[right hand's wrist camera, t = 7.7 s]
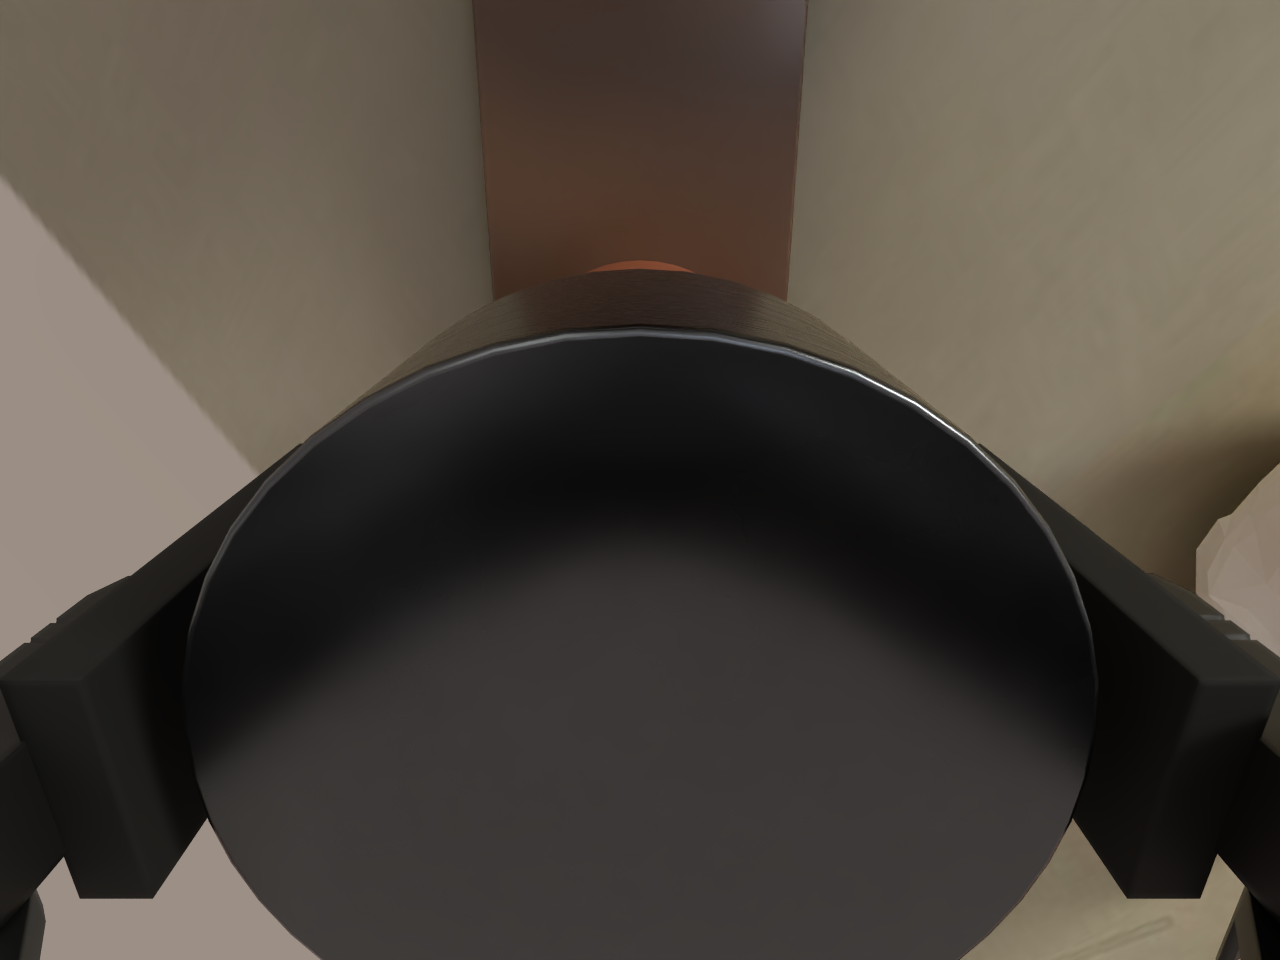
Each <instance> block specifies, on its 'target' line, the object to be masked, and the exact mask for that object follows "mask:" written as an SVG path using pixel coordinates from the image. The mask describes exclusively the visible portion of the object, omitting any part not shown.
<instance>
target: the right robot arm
mask: <svg viewBox="0 0 1280 960" xmlns="http://www.w3.org/2000/svg"><path fill="white" fill-rule="evenodd" d="M301 445H302V444H299V445H297V446H296V447H295V448H294V449H292V450H291V451H290V452H288V453H287V454H286V455H285V456H283V457H282V458H281V459H280V460H278V461H277V462H276V463H274V464H273V465H272V466H271V467H269V468H268V469H267V470H265V471H264V472H263V473H262V474H260V475H259V476H258V477H257V478H255V479H254V480H253V481H252V482H250V483H249V484H248V485H246V486H245V487H244V488H243V489H241V490H240V491H239V492H237V493H236V494H235V495H234V496H232V497H231V498H230V499H229V500H227V501H226V502H225V503H223V504H222V505H221V506H220V507H218V508H217V509H216V510H214V511H213V512H212V513H211V514H209V515H208V516H207V517H206V518H204V519H203V520H202V521H200V522H199V523H198V524H197V525H195V526H194V527H193V528H191V529H190V530H189V531H188V532H186V533H185V534H184V535H182V536H181V537H180V538H179V539H177V540H176V541H175V542H174V543H172V544H171V545H170V546H169V547H167V548H166V549H165V550H163V551H162V552H161V553H160V554H158V555H157V556H156V557H154V558H153V559H152V560H151V561H149V562H148V563H147V564H145V565H144V566H143V567H142V568H140V569H139V570H138V571H137V572H135V573H134V574H133V575H131V576H127V577H125V578H123V579H121V580H119V581H117V582H114V583H112V584H110V585H108V586H106V587H104V588H102V589H100V590H98V591H95V592H94V593H91V594H89V595H87V596H86V597H84V598H83V599H82V600H80V601H79V602H78V603H76V604H75V605H74V606H73V607H71V608H70V609H69V610H67V611H66V612H65V613H63V614H62V615H61V616H59V617H58V618H57V622H56V623H50V624H49V625H47V626H46V627H45V628H43V629H42V630H41V631H39V632H38V633H37V634H36V635H34V636H33V637H32V638H31V642H30V643H24V644H22V645H21V646H20V647H18V648H17V649H16V650H14V651H13V652H12V653H10V654H9V655H8V656H6V657H5V658H4V659H2V660H1V661H0V960H40V954H41V948H42V942H43V935H44V929H45V922H46V921H45V915H44V909H43V904H42V902H41V900H40V897H39V895H38V892H37V890H36V889H37V887H38V886H39V885H40V884H41V883H42V882H43V880H44V879H45V878H46V877H47V876H48V874H49V873H50V872H51V871H52V870H53V869H54V867H55V866H56V865H57V864H58V863H59V862H60V860H61V859H62V858H63V857H64V858H65V860H66V863H67V866H68V869H69V871H70V874H71V876H72V879H73V882H74V884H75V887H76V890H77V892H78V895H79V897H80V899H152V898H153V897H154V896H155V895H156V893H157V891H158V890H159V889H160V887H161V886H162V884H163V883H164V881H165V880H166V878H167V877H168V875H169V874H170V872H171V871H172V869H173V868H174V866H175V865H176V863H177V862H178V860H179V859H180V858H181V856H182V855H183V853H184V852H185V850H186V849H187V847H188V846H189V844H190V843H191V841H192V840H193V838H194V837H195V835H196V834H197V832H198V831H199V829H200V828H201V826H202V825H203V823H204V822H205V821H206V819H207V818H208V817H207V815H206V812H205V809H204V807H203V804H202V801H201V798H200V796H199V793H198V790H197V787H196V785H195V782H194V779H193V776H192V771H191V766H190V761H189V756H188V751H187V746H186V741H185V735H184V730H183V702H182V676H183V669H184V661H185V654H186V647H187V640H188V632H189V627H190V623H191V620H192V617H193V614H194V611H195V608H196V604H197V601H198V598H199V595H200V592H201V589H202V585H203V582H204V579H205V576H206V574H207V572H208V570H209V568H210V566H211V564H212V562H213V560H214V558H215V556H216V555H217V553H218V551H219V549H220V547H221V545H222V543H223V541H224V539H225V537H226V535H227V533H228V531H229V529H230V527H231V526H232V524H233V523H234V522H235V520H236V519H237V518H238V516H239V515H240V514H241V512H242V511H243V510H244V508H245V507H246V506H247V504H248V503H249V502H250V500H251V499H252V498H253V496H254V495H255V494H256V492H257V491H258V490H259V488H260V487H261V485H262V484H263V483H264V481H265V480H266V479H267V478H268V477H269V476H270V475H271V474H272V473H273V472H274V471H275V470H276V469H277V468H278V467H279V466H280V465H281V464H282V463H283V462H284V461H285V460H286V459H288V458H289V457H290V456H291V455H292V454H293V453H294V452H295V451H296V450H297V449H298V448H299V447H300V446H301ZM978 445H979V446H980V447H981V448H982V449H983V450H984V451H985V452H986V453H987V454H989V455H990V456H991V457H992V458H993V459H994V460H995V461H996V462H997V463H998V464H999V465H1000V466H1001V467H1002V468H1003V469H1004V470H1005V471H1006V472H1007V473H1008V474H1009V475H1010V476H1011V477H1012V478H1013V479H1014V480H1015V481H1016V483H1017V484H1018V485H1019V487H1020V488H1021V489H1022V491H1023V492H1024V493H1025V495H1026V496H1027V497H1028V499H1029V500H1030V501H1031V503H1032V504H1033V505H1034V507H1035V508H1036V509H1037V511H1038V512H1039V513H1040V515H1041V516H1042V517H1043V519H1044V520H1045V521H1046V523H1047V524H1048V525H1049V527H1050V529H1051V531H1052V533H1053V535H1054V537H1055V539H1056V541H1057V543H1058V545H1059V546H1060V548H1061V550H1062V552H1063V554H1064V556H1065V558H1066V560H1067V562H1068V564H1069V566H1070V568H1071V570H1072V572H1073V574H1074V575H1075V579H1076V582H1077V585H1078V588H1079V591H1080V594H1081V597H1082V601H1083V604H1084V607H1085V610H1086V613H1087V616H1088V620H1089V623H1090V626H1091V631H1092V638H1093V645H1094V653H1095V660H1096V667H1097V674H1098V709H1097V732H1096V737H1095V742H1094V747H1093V752H1092V757H1091V762H1090V767H1089V772H1088V777H1087V780H1086V783H1085V785H1084V788H1083V791H1082V794H1081V796H1080V799H1079V802H1078V804H1077V807H1076V810H1075V813H1074V815H1073V819H1074V820H1075V822H1076V823H1077V825H1078V826H1079V828H1080V829H1081V831H1082V832H1083V834H1084V835H1085V837H1086V838H1087V840H1088V841H1089V843H1090V844H1091V846H1092V847H1093V849H1094V850H1095V852H1096V853H1097V855H1098V856H1099V858H1100V859H1101V860H1102V862H1103V863H1104V865H1105V866H1106V868H1107V869H1108V871H1109V872H1110V874H1111V875H1112V877H1113V878H1114V880H1115V881H1116V883H1117V884H1118V886H1119V887H1120V889H1121V890H1122V892H1123V893H1124V895H1125V896H1126V897H1127V899H1200V898H1201V895H1202V892H1203V890H1204V887H1205V884H1206V882H1207V879H1208V877H1209V874H1210V871H1211V869H1212V866H1213V863H1214V861H1215V858H1216V855H1217V854H1218V855H1219V856H1220V857H1221V858H1222V860H1223V861H1224V862H1225V863H1226V864H1227V865H1228V867H1229V868H1230V869H1231V870H1232V871H1233V872H1234V874H1235V875H1236V876H1237V877H1238V878H1239V879H1240V881H1241V882H1242V883H1243V884H1244V885H1245V887H1244V890H1243V892H1242V895H1241V897H1240V900H1239V902H1238V904H1237V907H1236V909H1235V912H1234V914H1233V917H1232V919H1231V922H1230V924H1229V927H1228V929H1227V932H1226V934H1225V936H1224V939H1223V941H1222V944H1221V946H1220V949H1219V951H1218V954H1217V956H1216V960H1238V959H1241V960H1280V657H1279V656H1278V655H1276V654H1275V653H1274V652H1272V651H1271V650H1270V649H1268V648H1267V647H1266V646H1264V645H1263V644H1262V643H1260V642H1259V641H1258V640H1251V639H1250V634H1248V633H1247V632H1246V631H1244V630H1243V629H1242V628H1240V627H1239V626H1238V625H1236V624H1235V623H1234V622H1232V621H1231V620H1225V619H1224V615H1223V614H1222V613H1220V612H1219V611H1218V610H1216V609H1215V608H1214V607H1212V606H1211V605H1210V604H1208V603H1207V602H1206V601H1204V600H1203V599H1202V598H1200V597H1199V596H1198V595H1196V594H1195V593H1193V592H1191V591H1189V590H1187V589H1185V588H1183V587H1181V586H1179V585H1176V584H1174V583H1172V582H1170V581H1168V580H1166V579H1164V578H1162V577H1159V576H1157V575H1155V574H1153V573H1145V572H1143V571H1142V570H1141V569H1140V568H1138V567H1137V566H1136V565H1135V564H1133V563H1132V562H1131V561H1129V560H1128V559H1127V558H1126V557H1124V556H1123V555H1122V554H1121V553H1119V552H1118V551H1117V550H1115V549H1114V548H1113V547H1112V546H1110V545H1109V544H1108V543H1106V542H1105V541H1104V540H1103V539H1101V538H1100V537H1099V536H1098V535H1096V534H1095V533H1094V532H1092V531H1091V530H1090V529H1089V528H1087V527H1086V526H1085V525H1083V524H1082V523H1081V522H1080V521H1078V520H1077V519H1076V518H1075V517H1073V516H1072V515H1071V514H1069V513H1068V512H1067V511H1066V510H1064V509H1063V508H1062V507H1060V506H1059V505H1058V504H1057V503H1055V502H1054V501H1053V500H1052V499H1050V498H1049V497H1048V496H1046V495H1045V494H1044V493H1043V492H1041V491H1040V490H1039V489H1038V488H1036V487H1035V486H1034V485H1032V484H1031V483H1030V482H1029V481H1027V480H1026V479H1025V478H1023V477H1022V476H1021V475H1020V474H1018V473H1017V472H1016V471H1015V470H1013V469H1012V468H1011V467H1009V466H1008V465H1007V464H1006V463H1004V462H1003V461H1002V460H1000V459H999V458H998V457H997V456H995V455H994V454H993V453H992V452H990V451H989V450H988V449H986V448H985V447H984V446H983V445H981V444H978Z"/></svg>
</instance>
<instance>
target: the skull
mask: <svg viewBox="0 0 1280 960" xmlns="http://www.w3.org/2000/svg"><path fill="white" fill-rule="evenodd" d="M1196 594H1197V595H1198V596H1199V597H1200V598H1202V599H1203V600H1204V601H1206V602H1207V603H1208V604H1210V605H1211V606H1212V607H1214V608H1215V609H1216V610H1218V611H1219V612H1220V613H1222V614H1223V615H1224V619H1225V620H1231V621H1232V622H1234V623H1235V624H1236V625H1238V626H1239V627H1240V628H1242V629H1243V630H1244V631H1246V632H1247V633H1248V634H1250V639H1251V640H1258V641H1259V642H1260V643H1262V644H1263V645H1264V646H1266V647H1267V648H1268V649H1270V650H1271V651H1272V652H1274V653H1275V654H1276V655H1278V656H1279V657H1280V463H1279V464H1278V465H1277V466H1276V467H1275V468H1274V469H1273V470H1272V471H1271V472H1270V473H1269V474H1268V475H1267V476H1266V477H1264V478H1263V479H1262V480H1261V481H1260V482H1259V483H1258V485H1257V486H1256V487H1255V488H1254V489H1253V490H1252V491H1251V493H1250V494H1249V495H1248V496H1247V497H1246V498H1245V499H1244V500H1243V502H1242V503H1241V504H1240V505H1239V506H1238V507H1237V508H1236V510H1235V511H1234V512H1233V513H1232V514H1231V515H1228V516H1225V517H1223V518H1220V519H1218V520H1217V522H1216V523H1215V524H1214V526H1213V527H1212V528H1211V530H1210V531H1209V533H1208V534H1207V535H1206V537H1205V538H1204V540H1203V541H1202V542H1201V544H1200V545H1199V547H1198V548H1197V549H1196Z"/></svg>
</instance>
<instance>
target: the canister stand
mask: <svg viewBox="0 0 1280 960" xmlns="http://www.w3.org/2000/svg"><path fill="white" fill-rule="evenodd" d="M472 7H473V21H474V35H475V49H476V63H477V77H478V91H479V105H480V120H481V134H482V148H483V162H484V176H485V190H486V204H487V218H488V232H489V246H490V260H491V274H492V289H493V302H495V301H497V300H498V299H500V298H502V297H504V296H507V295H510V294H512V293H515V292H518V291H521V290H524V289H527V288H529V287H532V286H535V285H538V284H541V283H544V282H546V281H550V280H555V279H560V278H565V277H570V276H575V275H579V274H584V273H589V272H595V271H610V270H625V269H639V268H641V269H655V270H670V271H685V272H691V273H696V274H701V275H706V276H711V277H715V278H720V279H725V280H730V281H734V282H737V283H739V284H742V285H745V286H748V287H751V288H754V289H756V290H759V291H762V292H765V293H768V294H771V295H773V296H776V297H778V298H780V299H782V300H784V301H786V302H787V292H788V278H789V264H790V250H791V236H792V222H793V208H794V193H795V179H796V165H797V151H798V137H799V123H800V109H801V95H802V81H803V67H804V52H805V38H806V24H807V10H808V0H472Z"/></svg>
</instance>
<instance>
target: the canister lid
mask: <svg viewBox="0 0 1280 960" xmlns="http://www.w3.org/2000/svg"><path fill="white" fill-rule="evenodd" d="M182 702H183V730H184V735H185V741H186V746H187V751H188V756H189V761H190V766H191V771H192V776H193V779H194V782H195V785H196V787H197V790H198V793H199V796H200V798H201V801H202V804H203V807H204V809H205V812H206V815H207V817H208V820H209V822H210V824H211V826H212V828H213V830H214V832H215V833H216V835H217V837H218V839H219V841H220V843H221V845H222V846H223V848H224V850H225V852H226V854H227V856H228V858H229V859H230V861H231V863H232V864H233V866H234V867H235V868H236V870H237V871H238V873H239V874H240V875H241V877H242V878H243V879H244V881H245V882H246V883H247V885H248V886H249V888H250V889H251V890H252V892H253V893H254V894H255V896H256V897H257V898H258V900H259V901H260V902H261V903H262V904H263V905H264V906H265V907H266V909H267V910H268V911H269V912H270V913H271V914H272V915H273V916H274V917H275V918H276V919H277V920H278V921H279V922H280V923H281V924H282V926H283V927H284V928H285V929H286V930H287V931H288V932H289V933H290V934H291V935H292V936H293V937H295V938H296V939H297V940H298V941H299V942H301V943H302V944H303V945H304V946H305V947H306V948H308V949H309V950H310V951H311V952H312V953H314V954H315V955H316V956H317V957H318V958H320V959H321V960H960V959H961V958H962V957H963V956H964V955H965V954H967V953H968V952H969V951H970V950H971V949H973V948H974V947H975V946H976V945H977V944H979V943H980V942H981V941H982V940H983V939H985V938H986V937H987V936H988V935H989V934H990V933H991V932H992V931H993V930H994V929H995V928H996V927H997V926H998V925H999V924H1000V923H1001V922H1002V921H1003V919H1004V918H1005V917H1006V916H1007V915H1008V914H1009V913H1010V912H1011V911H1012V910H1013V909H1014V908H1015V907H1016V906H1017V905H1018V904H1019V902H1020V901H1021V900H1022V899H1023V898H1024V896H1025V895H1026V893H1027V892H1028V891H1029V889H1030V888H1031V887H1032V885H1033V884H1034V883H1035V881H1036V880H1037V878H1038V877H1039V876H1040V874H1041V873H1042V872H1043V870H1044V869H1045V867H1046V866H1047V865H1048V863H1049V862H1050V860H1051V858H1052V856H1053V854H1054V853H1055V851H1056V849H1057V847H1058V845H1059V843H1060V841H1061V840H1062V838H1063V836H1064V834H1065V832H1066V830H1067V828H1068V827H1069V825H1070V823H1071V821H1072V818H1073V815H1074V813H1075V810H1076V807H1077V804H1078V802H1079V799H1080V796H1081V794H1082V791H1083V788H1084V785H1085V783H1086V780H1087V777H1088V772H1089V767H1090V762H1091V757H1092V752H1093V747H1094V742H1095V737H1096V732H1097V709H1098V674H1097V667H1096V660H1095V653H1094V645H1093V638H1092V631H1091V626H1090V623H1089V620H1088V616H1087V613H1086V610H1085V607H1084V604H1083V601H1082V597H1081V594H1080V591H1079V588H1078V585H1077V582H1076V579H1075V575H1074V574H1073V572H1072V570H1071V568H1070V566H1069V564H1068V562H1067V560H1066V558H1065V556H1064V554H1063V552H1062V550H1061V548H1060V546H1059V545H1058V543H1057V541H1056V539H1055V537H1054V535H1053V533H1052V531H1051V529H1050V527H1049V525H1048V524H1047V523H1046V521H1045V520H1044V519H1043V517H1042V516H1041V515H1040V513H1039V512H1038V511H1037V509H1036V508H1035V507H1034V505H1033V504H1032V503H1031V501H1030V500H1029V499H1028V497H1027V496H1026V495H1025V493H1024V492H1023V491H1022V489H1021V488H1020V487H1019V485H1018V484H1017V483H1016V481H1015V480H1014V479H1013V478H1012V477H1011V476H1010V475H1009V474H1008V473H1007V472H1006V471H1005V470H1004V469H1003V468H1002V467H1001V466H1000V465H999V464H998V463H997V462H996V461H995V460H994V459H993V458H992V457H991V456H990V455H989V454H987V453H986V452H985V451H984V450H983V449H982V448H981V447H980V446H979V445H978V444H977V443H976V442H975V441H974V440H973V439H972V438H971V437H970V436H969V435H968V434H966V433H965V432H964V431H963V430H961V429H960V428H959V427H957V426H956V425H955V424H954V423H952V422H951V421H950V420H949V419H947V418H946V417H945V416H944V415H942V414H941V413H940V412H938V411H937V410H936V409H935V408H933V407H932V406H931V405H930V404H928V403H927V402H926V401H925V400H923V399H922V398H921V397H919V396H918V395H917V394H916V393H914V392H913V391H912V390H911V389H909V388H908V387H907V386H906V385H904V384H903V383H902V382H900V381H899V380H898V379H897V378H895V377H894V376H893V375H892V374H890V373H889V372H888V371H887V370H885V369H884V368H883V367H881V366H880V365H879V364H878V363H876V362H875V361H874V360H873V359H871V358H870V357H869V356H868V355H866V354H865V353H864V352H862V351H861V350H860V349H859V348H857V347H856V346H855V345H854V344H852V343H851V342H850V341H848V340H847V339H845V338H844V337H843V336H841V335H840V334H838V333H837V332H836V331H834V330H833V329H831V328H830V327H829V326H827V325H826V324H824V323H823V322H822V321H820V320H819V319H817V318H816V317H814V316H813V315H811V314H809V313H807V312H805V311H803V310H801V309H799V308H797V307H795V306H793V305H791V304H789V303H788V302H786V301H784V300H782V299H780V298H778V297H776V296H773V295H771V294H768V293H765V292H762V291H759V290H756V289H754V288H751V287H748V286H745V285H742V284H739V283H737V282H734V281H730V280H725V279H720V278H715V277H711V276H706V275H701V274H696V273H691V272H685V271H670V270H655V269H641V268H639V269H625V270H610V271H595V272H589V273H584V274H579V275H575V276H570V277H565V278H560V279H555V280H550V281H546V282H544V283H541V284H538V285H535V286H532V287H529V288H527V289H524V290H521V291H518V292H515V293H512V294H510V295H507V296H504V297H502V298H500V299H498V300H497V301H495V302H493V303H491V304H489V305H487V306H485V307H483V308H481V309H479V310H477V311H475V312H473V313H471V314H470V315H468V316H466V317H464V318H463V319H461V320H460V321H459V322H457V323H456V324H454V325H453V326H452V327H450V328H449V329H447V330H446V331H445V332H443V333H442V334H440V335H439V336H438V337H436V338H435V339H433V340H432V341H431V342H429V343H428V344H427V345H425V346H424V347H423V348H422V349H420V350H419V351H418V352H416V353H415V354H414V355H413V356H411V357H410V358H409V359H408V360H406V361H405V362H404V363H403V364H401V365H400V366H399V367H397V368H396V369H395V370H394V371H392V372H391V373H390V374H389V375H387V376H386V377H385V378H384V379H382V380H381V381H380V382H378V383H377V384H376V385H375V386H373V387H372V388H371V389H370V390H368V391H367V392H366V393H365V394H363V395H362V396H361V397H359V398H358V399H357V400H356V401H354V402H353V403H352V404H351V405H349V406H348V407H347V408H346V409H344V410H343V411H342V412H340V413H339V414H338V415H337V416H335V417H334V418H333V419H332V420H330V421H329V422H328V423H327V424H325V425H324V426H323V427H321V428H320V429H319V430H318V431H316V432H315V433H314V434H313V435H311V436H310V437H309V438H308V439H307V440H306V441H305V442H304V443H303V444H302V445H301V446H300V447H299V448H298V449H297V450H296V451H295V452H294V453H293V454H292V455H291V456H290V457H289V458H288V459H286V460H285V461H284V462H283V463H282V464H281V465H280V466H279V467H278V468H277V469H276V470H275V471H274V472H273V473H272V474H271V475H270V476H269V477H268V478H267V479H266V480H265V481H264V483H263V484H262V485H261V487H260V488H259V490H258V491H257V492H256V494H255V495H254V496H253V498H252V499H251V500H250V502H249V503H248V504H247V506H246V507H245V508H244V510H243V511H242V512H241V514H240V515H239V516H238V518H237V519H236V520H235V522H234V523H233V524H232V526H231V527H230V529H229V531H228V533H227V535H226V537H225V539H224V541H223V543H222V545H221V547H220V549H219V551H218V553H217V555H216V556H215V558H214V560H213V562H212V564H211V566H210V568H209V570H208V572H207V574H206V576H205V579H204V582H203V585H202V589H201V592H200V595H199V598H198V601H197V604H196V608H195V611H194V614H193V617H192V620H191V623H190V627H189V632H188V640H187V647H186V654H185V661H184V669H183V676H182Z"/></svg>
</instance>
